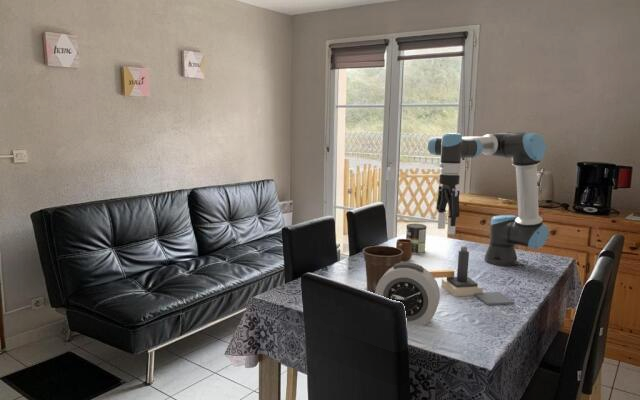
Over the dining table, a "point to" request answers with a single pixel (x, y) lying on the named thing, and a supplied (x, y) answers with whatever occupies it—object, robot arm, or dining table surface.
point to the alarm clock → (411, 291)
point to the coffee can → (417, 237)
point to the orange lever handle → (442, 273)
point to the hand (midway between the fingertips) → (446, 231)
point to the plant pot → (379, 263)
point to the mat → (493, 298)
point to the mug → (405, 248)
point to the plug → (462, 271)
